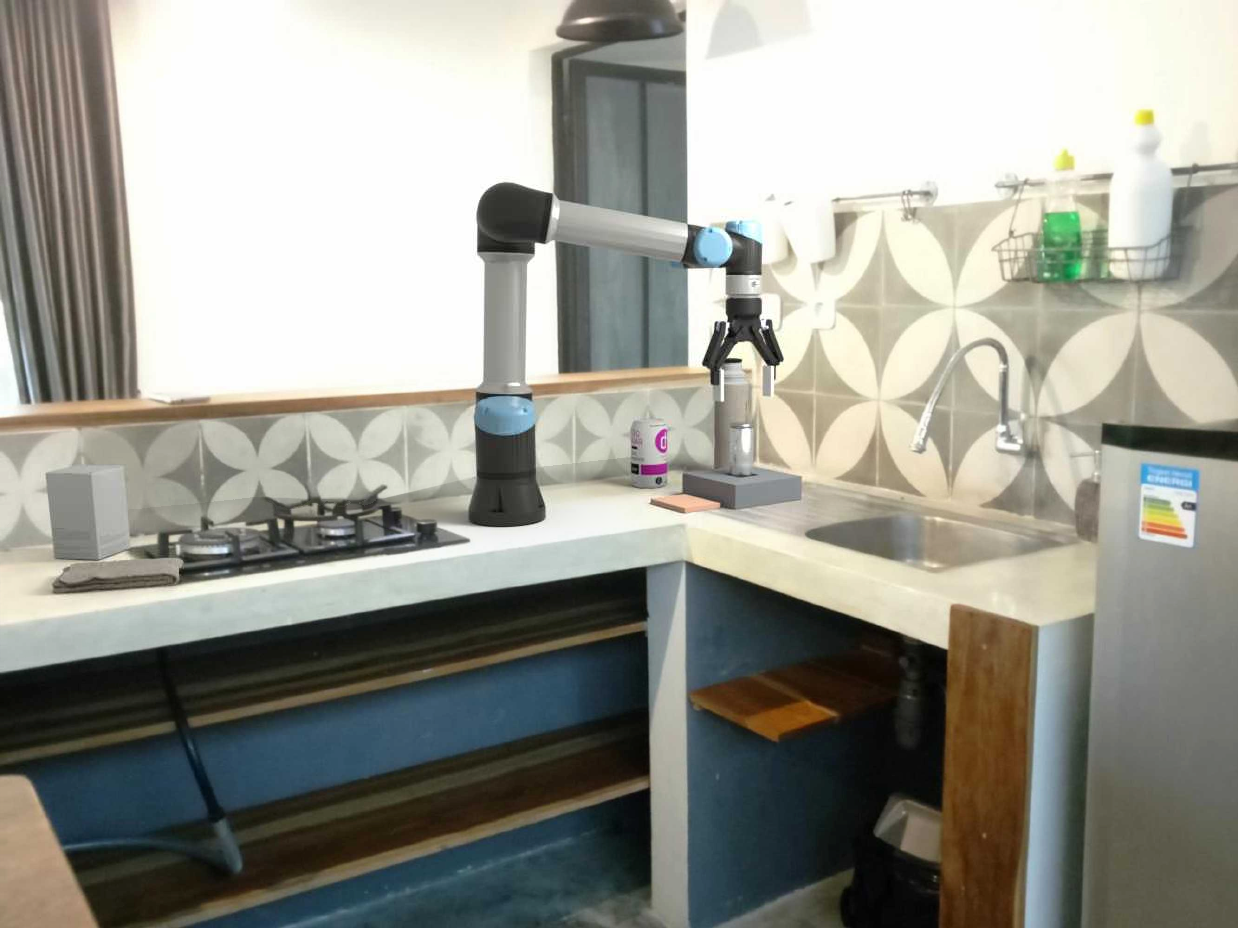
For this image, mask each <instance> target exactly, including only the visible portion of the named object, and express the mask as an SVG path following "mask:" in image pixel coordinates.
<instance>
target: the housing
mask: <svg viewBox="0 0 1238 928" xmlns="http://www.w3.org/2000/svg"><path fill="white" fill-rule="evenodd" d="M681 474H682V479H681V480H682V481H681V482H682V483H681V484H682V488H681V489H682V492H681V493H682V494H687V495H691V496H695V497H698V498H702V499H706V500H710V501H714V502H718V503H720V507H725V508H728V509H732V510H741V509H748V508H749V509H750V508H754V507H760V506H767V505H774V504H779V503H780V504H781V503H787V502H788V503H789V502H794V501H801V500H802V489H803V488H802V486H803V485H802V483H803V476H802V475H797V474H792V473H787V472H783V471H778V470H774V469H768V468H763V467H758V466H754V465H753V476H750V477H742V478H738V477H734V476H730V467H726V468H718V469H714V468H713V469H712V468H711V469H704V470H695V471H689V472H687V471H686V472H682V473H681ZM682 494H681V495H682Z"/></svg>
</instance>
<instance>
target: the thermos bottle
mask: <svg viewBox="0 0 1238 928" xmlns="http://www.w3.org/2000/svg"><path fill="white" fill-rule="evenodd" d="M742 362H743V358H738V357H737V358H736V357H727V358H726V360H725V362H724V363H723V365H722V366H721V368H720V370H724V401H714V408H713V409H714V411H713V412H714V414H713V415H714V423H713V430H714V431H713V432H714V434H713V435H714V444H713V445H714V447H713V469H718V468H726V467H730V423H733V422H749V397H750V396H749V395H750V394H749V393H750V392H749V388H750V387H749V385H750V383H749V382H748V381H747V373H746V371H744V370H743V364H742Z"/></svg>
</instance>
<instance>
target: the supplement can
mask: <svg viewBox="0 0 1238 928" xmlns="http://www.w3.org/2000/svg"><path fill="white" fill-rule="evenodd" d="M667 483H668V426H667V424H666V420H665V419H663V418H653V417H652V418H651V417H649V418H648V417H646V418H636V419H633V423H631V425H630V484H632V485H633V487H634V488H637V489H639V488H640V489H660V488H663V487H665V486H666V485H667Z"/></svg>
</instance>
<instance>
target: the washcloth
mask: <svg viewBox="0 0 1238 928" xmlns="http://www.w3.org/2000/svg"><path fill="white" fill-rule="evenodd" d="M183 563H184V561H183V559H181V558H179V557H167V558H166V557H161V558H159V557H158V558H133V559H121V560H110V561H105V560H104V561H91V562H90V561H89V562H75V563H73V564H70V565H69V566H66V567H64V568H63V569H62V573H61V574H60V575H58V577H56V578H55V580H54V581H53V582H51V586H52V592H53V594H56V595H57V594H67V595H69V594H83V593H98V592H113V591H124V590H127V591H128V590H138V589H153V588H166V587H172V586H175V585H177V584H178V582H179V581H180V575H179V568H181V567H182V565H183ZM184 564H185V563H184Z"/></svg>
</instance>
